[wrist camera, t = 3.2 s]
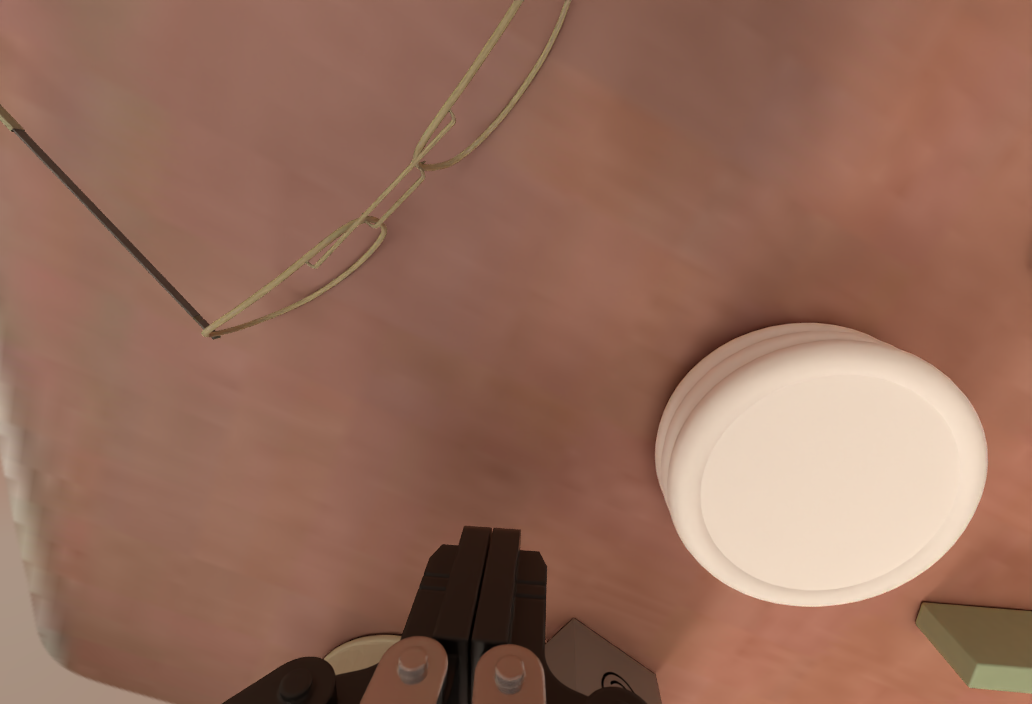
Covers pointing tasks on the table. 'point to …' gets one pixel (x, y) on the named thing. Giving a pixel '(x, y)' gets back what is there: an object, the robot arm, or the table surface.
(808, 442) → the coaster
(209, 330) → the eyeglasses
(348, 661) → the can
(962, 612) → the green u-shaped frame
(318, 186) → the table surface
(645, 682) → the dice cube
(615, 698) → the robot arm
